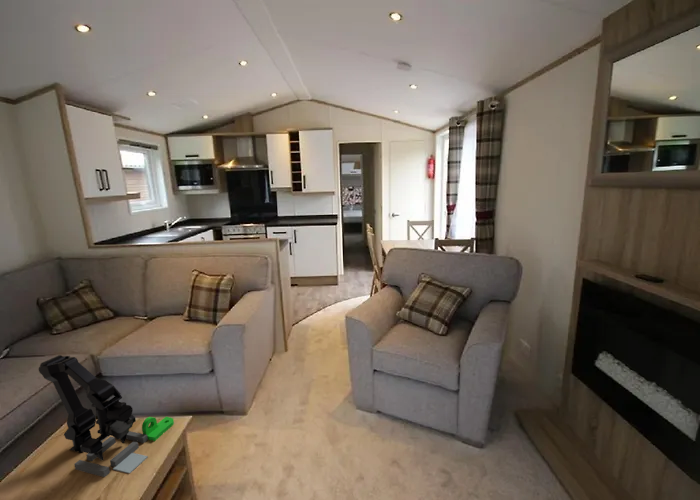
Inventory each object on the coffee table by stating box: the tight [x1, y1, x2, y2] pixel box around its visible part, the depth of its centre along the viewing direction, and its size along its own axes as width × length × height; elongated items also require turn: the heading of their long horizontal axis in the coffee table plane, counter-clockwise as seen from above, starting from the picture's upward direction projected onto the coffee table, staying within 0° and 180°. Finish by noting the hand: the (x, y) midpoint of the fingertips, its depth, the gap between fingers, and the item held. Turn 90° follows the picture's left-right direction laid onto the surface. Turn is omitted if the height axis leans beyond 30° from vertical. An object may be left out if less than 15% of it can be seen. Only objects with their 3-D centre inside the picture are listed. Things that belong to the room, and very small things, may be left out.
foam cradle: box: [73, 430, 149, 478], centre depth 134 cm, size 14×19×2 cm
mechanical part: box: [141, 416, 175, 442], centre depth 146 cm, size 12×6×8 cm, turn 163°
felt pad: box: [112, 452, 149, 475], centre depth 129 cm, size 8×8×1 cm
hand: (113, 451), depth 134 cm, fingers open, 9 cm apart
